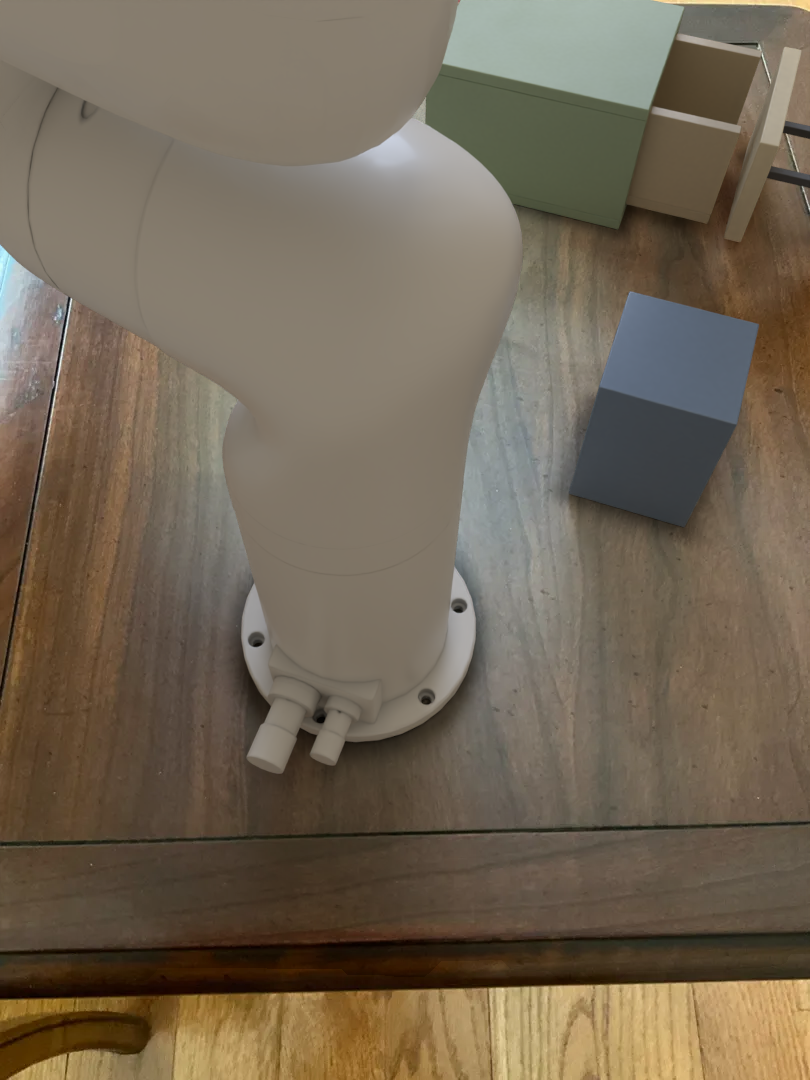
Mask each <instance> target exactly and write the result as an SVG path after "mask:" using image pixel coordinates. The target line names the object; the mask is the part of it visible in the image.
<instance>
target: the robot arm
mask: <svg viewBox="0 0 810 1080" xmlns="http://www.w3.org/2000/svg"><path fill="white" fill-rule="evenodd" d="M458 4H459V0H0V247H2V248H3V249H4V251H6V252H7V254H8V255H9V256H11V258H12V259H13V260H15V261H16V262H17V263H18V264H19V265H20V266H22V268H24V269H25V270H27V271H28V272H29V273H31V274H32V275H34V276H35V277H36V278H38V279H39V280H41V281H42V282H44V283H45V284H47V285H49V286H50V287H52V288H53V289H55V290H56V291H58V292H60V293H61V294H64V295H65V296H66V297H68V298H70V299H72V300H74V301H76V302H77V303H78V304H80V305H81V306H83V307H86V308H87V309H88V310H91V311H92V312H94V313H96V314H98V315H99V316H101V317H103V318H104V319H106V320H109V321H110V322H112V323H113V324H115V325H117V326H119V327H121V328H122V329H124V330H126V331H128V332H130V333H132V334H133V335H135V336H137V337H139V338H140V339H142V340H144V341H146V342H148V343H149V344H152V345H153V346H154V347H156V348H158V349H159V350H160V351H161V352H162V353H164V354H165V355H166V356H168V357H170V358H171V359H173V360H175V361H177V362H179V363H180V364H181V365H184V366H186V368H189V369H191V370H193V371H194V372H195V373H198V374H199V375H201V376H203V377H205V378H206V379H208V380H209V381H211V382H213V383H214V384H216V385H217V386H219V387H220V388H222V389H223V390H224V391H225V392H227V393H229V394H230V395H231V396H232V397H234V398H235V399H236V400H237V401H236V403H235V404H234V406H233V407H232V410H231V412H230V414H229V417H228V420H227V423H226V427H225V429H224V434H223V439H222V455H221V456H222V468H223V474H224V478H225V485H226V488H227V492H228V495H229V499H230V501H231V505H232V508H233V510H234V514H235V517H236V521H237V524H238V529H239V532H240V535H241V539H242V542H243V547H244V550H245V553H246V557H247V561H248V564H249V569H250V571H251V574H252V575H251V576H252V578H253V579H252V580H253V584H252V587H251V588H250V591H249V592H248V595H247V597H246V600H245V604H244V608H243V612H242V615H241V628H240V629H241V633H240V639H241V640H240V641H241V646H242V652H243V659H244V661H245V664H246V667H247V670H248V673H249V676H250V677H251V679H252V681H253V683H254V685H255V686H256V689H257V691H258V692H259V694H260V695H261V696H262V698H264V700H265V701H266V702H267V703H268V705H269V706H270V709H269V711H268V713H267V715H266V718H265V720H264V722H263V723H261V724H260V725H259V728H258V730H257V732H256V734H255V737H254V739H253V740H252V743H251V745H250V748H249V750H248V752H247V755H246V761H248V762H249V763H250V764H252V765H253V766H255V767H257V768H259V769H260V770H264V771H266V772H269V773H271V774H276V775H282V774H283V773H284V771H285V769H286V767H287V764H288V762H289V760H290V757H291V755H292V752H293V750H294V747H295V746H296V743H297V741H298V738H297V735H298V733H299V730H300V729H302V730H303V731H306V732H308V733H309V734H312V735H315V736H316V737H315V740H314V743H313V745H312V748H311V750H310V752H309V757H310V758H311V759H313V760H315V761H316V762H319V763H321V764H323V765H327V766H333V767H334V766H336V765H337V763H338V760H339V758H340V755H341V752H342V751H343V748H344V745H345V742H350V743H352V742H353V743H362V742H374V741H381V740H385V739H388V738H392V737H394V736H399V735H402V734H404V733H407V732H408V731H411V730H412V729H414V728H416V727H419V726H421V725H423V724H424V723H426V722H427V721H428V720H430V719H431V718H432V717H433V716H435V715H436V714H438V713H439V712H440V711H441V710H442V709H443V708H444V707H445V706H446V705H447V703H448V702H449V701H450V700H451V699H452V698H453V697H454V696H455V694H456V693H457V691H458V690H459V688H460V687H461V685H462V683H463V682H464V680H465V678H466V676H467V675H468V670H469V668H470V665H471V662H472V659H473V656H474V650H475V646H476V645H475V644H476V639H477V637H476V633H477V632H476V630H477V618H476V613H475V607H474V602H473V598H472V596H471V593H470V591H469V588H468V586H467V584H466V581H465V579H464V578H463V577H462V574H460V572H459V571H458V569H457V568H456V566H455V564H456V557H457V556H456V554H457V546H458V538H459V537H458V536H459V527H460V519H461V509H462V501H463V493H464V485H465V483H464V482H465V481H464V480H465V472H466V471H465V470H466V462H467V457H468V456H467V455H468V447H469V441H470V436H471V430H472V426H473V421H474V418H475V414H476V413H475V412H476V409H477V407H478V406H477V405H478V402H479V399H480V395H481V393H482V390H483V387H484V385H485V382H486V379H487V376H488V374H489V371H490V368H491V366H492V363H493V361H494V358H495V355H496V353H497V350H498V348H499V345H500V342H501V340H502V338H503V336H504V335H503V334H504V332H505V331H506V328H507V324H508V322H509V320H510V317H511V314H512V310H513V307H514V304H515V301H516V297H517V295H518V290H519V286H520V285H519V284H520V279H521V273H522V268H523V261H524V257H523V256H524V246H523V234H522V230H521V229H522V228H521V224H520V220H519V217H518V214H517V212H516V209H515V207H514V204H512V202H511V200H510V198H509V197H508V195H507V194H506V192H505V191H504V189H503V187H502V186H501V185H500V183H499V182H498V181H497V180H496V179H495V177H494V176H493V175H492V174H491V173H490V172H489V171H488V170H487V169H486V168H485V167H484V166H483V165H482V164H481V163H480V162H479V161H478V160H477V159H476V158H474V157H473V156H472V155H471V154H470V153H469V152H467V151H466V150H465V149H463V148H462V147H461V146H459V145H458V144H457V143H455V142H453V141H452V140H450V139H449V138H447V137H445V136H444V135H442V134H441V133H439V132H438V131H436V130H434V129H433V128H431V127H430V126H428V125H426V124H425V122H422V121H420V120H418V119H417V118H415V117H414V115H415V114H416V112H418V110H419V109H420V107H421V106H422V105H423V103H424V101H425V100H426V96H427V94H428V92H429V91H430V89H431V87H432V85H433V84H434V82H435V80H436V79H437V76H438V74H439V72H440V70H441V67H442V63H443V60H444V56H445V53H446V49H447V46H448V43H449V39H450V36H451V32H452V29H453V25H454V22H455V18H456V12H457V6H458ZM456 610H460V611H461V612H456ZM258 643H259V644H261V645H259V646H255V645H256V644H258ZM425 699H426V700H427V699H428V700H429V701H430V703H429V704H424V703H423V702H422V701H423V700H425ZM320 718H325V719H324V722H322V723H321V722H318V719H320Z"/></svg>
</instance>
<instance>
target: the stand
mask: <svg viewBox="0 0 810 1080" xmlns="http://www.w3.org/2000/svg"><path fill="white" fill-rule="evenodd" d="M621 312H622V313H621V316H620V319H619V322H618V325H617V328H616V331H615V334H614V337H613V341H612V344H611V347H610V350H609V353H608V357H607V360H606V363H605V366H604V369H603V373H602V375H601V378H600V381H599V385H598V388H597V392H596V395H595V398H594V401H593V406H592V409H591V413H590V416H589V419H588V423H587V426H586V429H585V433H584V437H583V439H582V444H581V447H580V450H579V454H578V458H577V460H576V465H575V469H574V471H573V475H572V478H571V482H570V485H569V489H568V495H572V496H575V497H579V498H582V499H586V500H589V501H593V502H596V503H599V504H603V505H606V506H610V507H613V508H617V509H620V510H624V511H627V512H630V513H634V514H637V515H641V516H644V517H646V518H647V517H648V518H651V519H654V520H658V521H661V522H664V523H668V524H671V525H675V526H678V527H681V528H686V526H687V524H688V522H689V519H690V518H691V516H692V514H693V512H694V510H695V509H696V506H697V504H698V502H699V500H700V498H701V497H702V494H703V493H704V491H705V489H706V487H707V484H708V482H709V480H710V479H711V477H712V475H713V473H714V471H715V469H716V467H717V465H718V463H719V461H720V459H721V457H722V455H723V453H724V451H725V449H726V448H727V445H728V444H729V441H730V439H731V438H732V436H733V434H734V432H735V430H736V428H737V426H738V422H739V418H740V415H741V414H740V413H741V410H742V404H743V400H744V396H745V391H746V388H747V387H746V386H747V381H748V377H749V372H750V369H751V364H752V359H753V354H754V351H755V346H756V341H757V338H758V337H757V336H758V333H759V328H760V324H759V323H756V322H752V321H748V320H745V319H740V318H736V317H732V316H729V315H724V314H721V313H717V312H713V311H709V310H705V309H701V308H698V307H695V306H694V307H693V306H690V305H687V304H682V303H678V302H674V301H670V300H667V299H662V298H658V297H656V296H655V297H654V296H650V295H647V294H643V293H638V292H634V291H631V290H629V292H628V294H627V297H626V299H625V303H624V306H623V310H622V311H621Z"/></svg>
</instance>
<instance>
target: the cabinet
mask: <svg viewBox="0 0 810 1080" xmlns="http://www.w3.org/2000/svg"><path fill="white" fill-rule="evenodd" d="M685 9H686V7H685V6H682V5H678V4H672V3H668V2H663V1H658V0H459V1H458V6H457V12H456V18H455V22H454V25H453V29H452V32H451V36H450V39H449V43H448V46H447V49H446V53H445V56H444V60H443V63H442V67H441V70H440V72H439V74H438V76H437V79H436V80H435V82H434V84H433V85H432V87H431V89H430V91H429V92H428V94H427V96H426V97H425V113H424V114H425V119H424V124H426V125H428V126H430V127H431V128H433V129H434V130H436V131H438V132H439V133H441V134H442V135H444V136H445V137H447V138H449V139H450V140H452V141H453V142H455V143H457V144H458V145H459V146H461V147H462V148H463V149H465V150H466V151H467V152H469V153H470V154H471V155H472V156H473V157H474V158H476V159H477V160H478V161H479V162H480V163H481V164H482V165H483V166H484V167H485V168H486V169H487V170H488V171H489V172H490V173H491V174H492V175H493V176H494V177H495V179H496V180H497V181H498V182H499V183H500V185H501V186H502V187H503V189H504V191H505V192H506V194H507V195H508V197H509V198H510V200H511V202H512V205H517V206H521V207H525V208H528V209H533V210H537V211H540V212H545V213H548V214H549V213H550V214H553V215H557V216H561V217H566V218H570V219H573V220H576V221H577V220H578V221H582V222H586V223H590V224H594V225H598V226H601V227H602V226H603V227H606V228H610V229H615V230H619V229H620V226H621V223H622V220H623V217H624V214H625V212H626V209H627V206H628V205H627V204H626V201H627V197H628V193H629V189H630V185H631V181H632V178H633V174H634V170H635V166H636V162H637V158H638V154H639V151H640V147H641V143H642V139H643V135H644V131H645V127H646V123H647V120H648V116H649V112H650V109H651V106H652V104H653V101H654V98H655V95H656V92H657V89H658V86H659V83H660V81H661V78H662V75H663V72H664V69H665V66H666V63H667V60H668V58H669V55H670V52H671V49H672V46H673V43H674V40H675V37H676V34H677V33H680V29H681V25H682V21H683V17H684V13H685Z"/></svg>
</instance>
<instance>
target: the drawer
mask: <svg viewBox="0 0 810 1080" xmlns="http://www.w3.org/2000/svg"><path fill="white" fill-rule="evenodd" d="M802 53H803V50H802V49H798V48H794V47H788V46H784V47H783V49H782V52H781V54H780V57H779V60H778V62H777V65H776V68H775V71H774V73H773V76H772V79H771V81H770V83H769V87H768V90H767V92H766V95H765V97H764V101H763V103H762V106H761V108H760V111H759V114H758V117H757V119H756V122H755V124H754V127H753V129H752V132H751V135H750V138H749V141H748V143H747V146H746V150H745V154H744V158H743V162H742V166H741V170H740V173H739V177H738V181H737V185H736V189H735V193H734V197H733V200H732V204H731V207H730V211H729V215H728V219H727V223H726V226H725V231H724V235H723V239H724V240H728V241H733V242H737V243H741V242H742V240H743V238H744V235H745V233H746V230H747V227H748V225H749V223H750V221H751V218H752V216H753V213H754V210H755V208H756V206H757V204H758V201H759V198H760V196H761V193H762V191H763V188H764V186H765V184H766V181H767V179H768V180H772V181H777V182H781V183H785V184H790V185H795V186H798V187H803V188H807V189H810V174H809V173H803V172H800V171H795V170H790V169H787V168H782V167H778V166H773V163H774V161H775V159H776V156H777V155H778V151H779V149H780V146H781V141H782V137H783V134H785V135H790V136H794V137H798V138H804V139H808V140H810V125H807V124H803V123H799V122H798V123H797V122H793V121H788V120H787V116H788V112H789V109H790V104H791V99H792V94H793V90H794V87H795V82H796V78H797V73H798V70H799V65H800V61H801V57H802ZM762 55H763V50H760V49H756V48H755V49H754V48H751V47H745V46H741V45H735V44H731V43H727V42H722V41H717V40H712V39H707V38H703V37H698V36H693V35H689V34H683V33H680V32H678V33H677V34H676V37H675V40H674V43H673V46H672V49H671V52H670V55H669V58H668V60H667V63H666V66H665V69H664V72H663V75H662V78H661V81H660V83H659V86H658V89H657V92H656V95H655V98H654V101H653V104H652V106H651V109H650V112H649V116H648V120H647V123H646V127H645V131H644V135H643V139H642V143H641V147H640V151H639V154H638V158H637V162H636V166H635V170H634V174H633V178H632V181H631V185H630V189H629V193H628V197H627V201H626V204H627V206H633V207H636V208H640V209H644V210H649V211H652V212H656V213H661V214H665V215H669V216H673V217H678V218H682V219H686V220H690V221H694V222H699V223H703V224H709V221H710V218H711V216H712V213H713V210H714V207H715V205H716V201H717V199H718V196H719V193H720V190H721V188H722V186H723V183H724V180H725V176H726V173H727V171H728V168H729V166H730V163H731V160H732V157H733V154H734V151H735V149H736V146H737V143H738V141H739V137H740V135H741V131H742V125H738V123H739V120H740V117H741V115H742V112H743V108H744V106H745V104H746V100H747V97H748V94H749V92H750V89H751V85H752V83H753V80H754V78H755V74H756V72H757V69H758V66H759V63H760V61H761V57H762Z"/></svg>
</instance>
